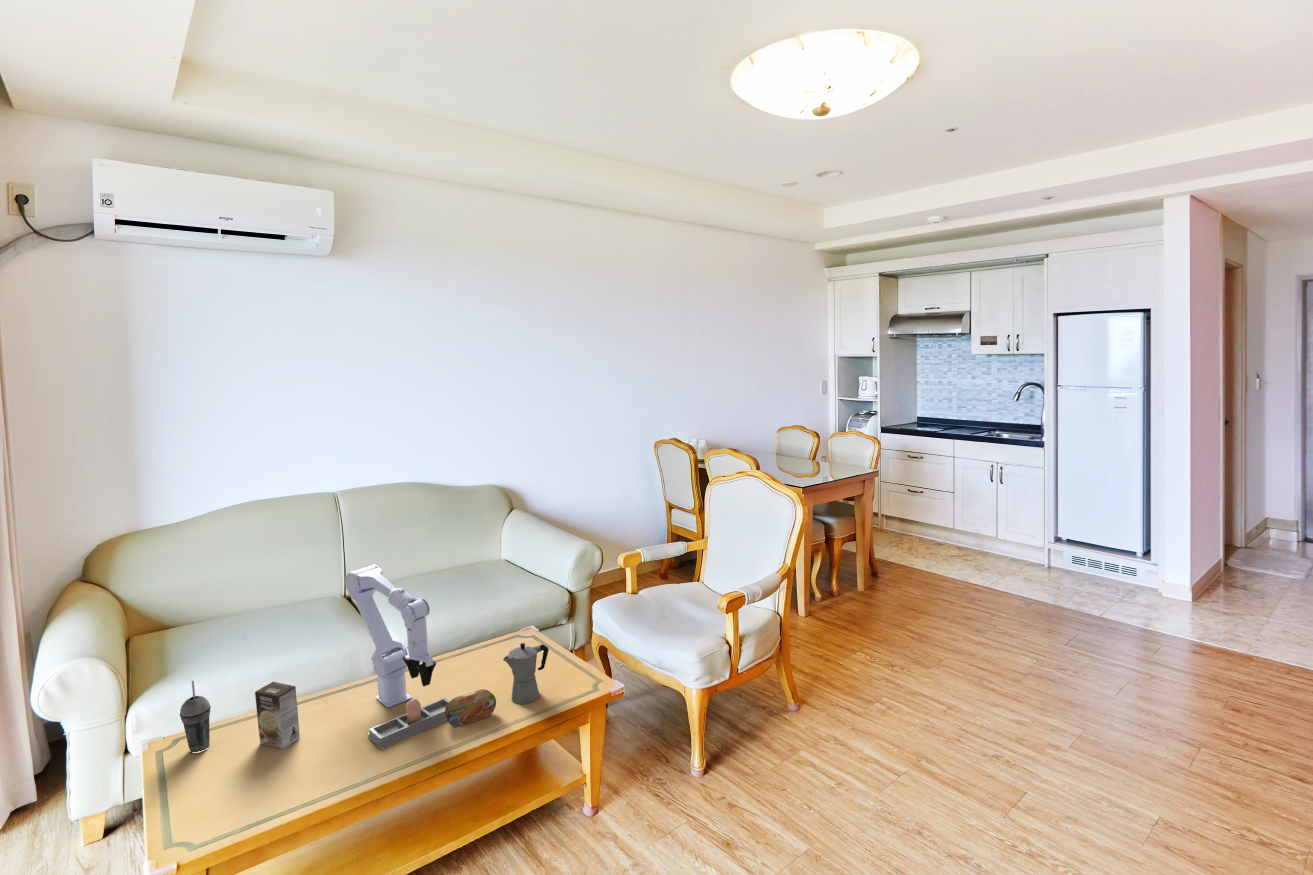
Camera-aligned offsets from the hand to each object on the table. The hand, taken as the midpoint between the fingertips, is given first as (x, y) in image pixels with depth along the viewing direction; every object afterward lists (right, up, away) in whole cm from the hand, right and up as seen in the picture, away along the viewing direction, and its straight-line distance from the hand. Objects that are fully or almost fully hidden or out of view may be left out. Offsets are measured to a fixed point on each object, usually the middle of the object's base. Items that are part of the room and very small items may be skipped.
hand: (420, 680), depth 206 cm
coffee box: (-36, -12, -14) cm, 40 cm away
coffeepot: (+32, -8, +8) cm, 34 cm away
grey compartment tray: (+1, -10, -8) cm, 13 cm away
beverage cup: (-57, -13, -17) cm, 61 cm away
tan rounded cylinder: (+1, -9, -8) cm, 12 cm away
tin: (+17, -10, -6) cm, 21 cm away
